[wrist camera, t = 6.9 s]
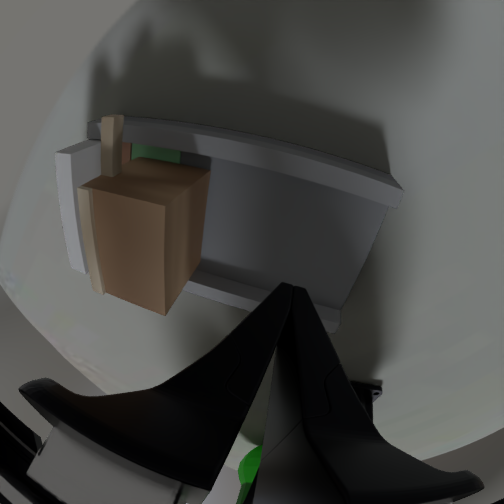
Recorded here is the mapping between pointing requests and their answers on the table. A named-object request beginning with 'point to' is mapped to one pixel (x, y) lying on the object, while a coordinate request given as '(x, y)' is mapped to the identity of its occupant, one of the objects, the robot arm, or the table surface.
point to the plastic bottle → (248, 471)
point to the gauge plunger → (142, 224)
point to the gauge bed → (252, 210)
